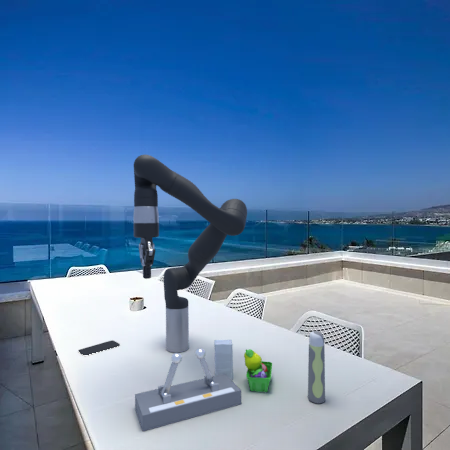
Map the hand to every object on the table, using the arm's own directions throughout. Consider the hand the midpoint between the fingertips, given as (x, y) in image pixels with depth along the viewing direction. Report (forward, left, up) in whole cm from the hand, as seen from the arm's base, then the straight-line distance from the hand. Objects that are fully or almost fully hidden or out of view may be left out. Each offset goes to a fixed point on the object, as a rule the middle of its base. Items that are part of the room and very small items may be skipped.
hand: (147, 278), depth 100 cm
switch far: (+13, +16, -30) cm, 36 cm away
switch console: (+13, +9, -35) cm, 38 cm away
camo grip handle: (+26, +44, -35) cm, 62 cm away
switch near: (+13, +2, -30) cm, 33 cm away
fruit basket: (+11, +33, -35) cm, 49 cm away
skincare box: (+2, +25, -35) cm, 43 cm away
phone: (-42, -11, -36) cm, 56 cm away
